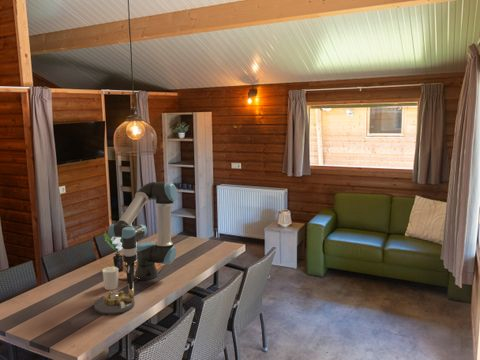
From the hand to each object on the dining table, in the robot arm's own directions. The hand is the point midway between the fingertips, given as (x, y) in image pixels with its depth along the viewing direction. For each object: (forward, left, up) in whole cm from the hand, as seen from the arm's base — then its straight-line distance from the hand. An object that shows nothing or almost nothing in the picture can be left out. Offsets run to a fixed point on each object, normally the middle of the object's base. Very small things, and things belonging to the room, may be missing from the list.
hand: (131, 293), depth 236 cm
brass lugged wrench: (+4, -6, -4) cm, 8 cm away
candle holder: (-15, -27, -8) cm, 32 cm away
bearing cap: (+5, -8, -7) cm, 12 cm away
